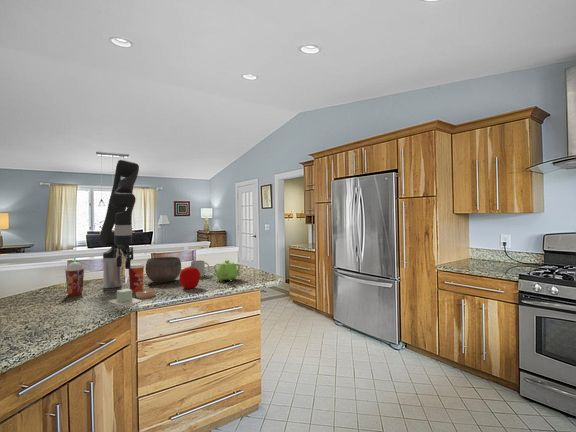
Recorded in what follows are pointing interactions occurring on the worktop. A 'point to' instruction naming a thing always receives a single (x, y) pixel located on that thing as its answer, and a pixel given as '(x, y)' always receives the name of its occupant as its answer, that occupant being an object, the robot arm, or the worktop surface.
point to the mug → (200, 266)
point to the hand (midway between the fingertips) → (123, 267)
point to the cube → (124, 295)
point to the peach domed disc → (145, 293)
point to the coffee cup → (136, 276)
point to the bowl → (163, 268)
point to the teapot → (227, 270)
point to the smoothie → (74, 278)
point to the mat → (124, 302)
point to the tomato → (189, 277)
